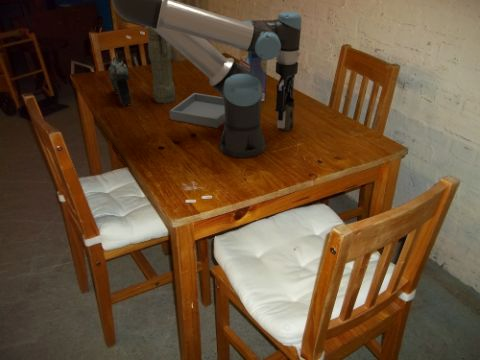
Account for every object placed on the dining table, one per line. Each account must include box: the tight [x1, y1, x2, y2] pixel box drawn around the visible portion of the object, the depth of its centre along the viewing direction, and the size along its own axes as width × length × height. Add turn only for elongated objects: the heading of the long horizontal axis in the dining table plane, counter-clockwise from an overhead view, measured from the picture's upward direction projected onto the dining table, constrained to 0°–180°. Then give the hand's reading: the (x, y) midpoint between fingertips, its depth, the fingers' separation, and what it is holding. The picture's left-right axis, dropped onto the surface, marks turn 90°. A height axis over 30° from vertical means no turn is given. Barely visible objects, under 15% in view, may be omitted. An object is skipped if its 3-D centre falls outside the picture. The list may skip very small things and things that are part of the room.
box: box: [169, 92, 225, 129], centre depth 163 cm, size 20×20×4 cm
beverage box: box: [239, 49, 268, 102], centre depth 172 cm, size 7×11×22 cm, turn 26°
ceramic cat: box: [108, 52, 132, 106], centre depth 170 cm, size 20×6×20 cm, turn 25°
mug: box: [277, 97, 295, 132], centre depth 150 cm, size 8×6×12 cm
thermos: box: [146, 28, 176, 105], centre depth 166 cm, size 9×12×35 cm
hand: (283, 124), depth 152 cm, fingers closed on mug, 5 cm apart
